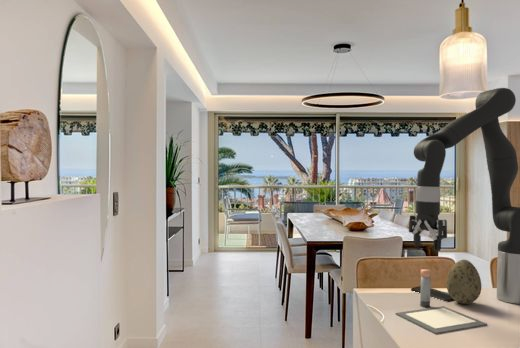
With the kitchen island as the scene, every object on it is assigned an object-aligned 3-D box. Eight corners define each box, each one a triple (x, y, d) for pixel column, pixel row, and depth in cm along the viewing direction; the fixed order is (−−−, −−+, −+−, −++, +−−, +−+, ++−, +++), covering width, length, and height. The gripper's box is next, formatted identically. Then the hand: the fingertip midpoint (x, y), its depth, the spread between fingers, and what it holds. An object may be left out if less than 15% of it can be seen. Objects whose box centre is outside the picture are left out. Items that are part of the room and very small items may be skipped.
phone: (422, 285, 154) (459, 296, 141) (422, 288, 154) (459, 299, 141) (409, 288, 150) (445, 299, 137) (409, 291, 150) (445, 303, 137)
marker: (425, 304, 134) (426, 268, 134) (432, 307, 131) (433, 271, 131) (417, 305, 133) (418, 269, 133) (425, 308, 130) (425, 271, 130)
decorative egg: (488, 307, 132) (489, 262, 132) (460, 309, 130) (461, 263, 130) (465, 297, 142) (466, 256, 142) (439, 299, 140) (440, 256, 140)
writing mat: (443, 307, 131) (443, 305, 131) (487, 325, 117) (487, 323, 117) (395, 314, 124) (395, 312, 124) (435, 334, 109) (435, 332, 109)
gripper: (453, 201, 127) (452, 252, 127) (420, 198, 140) (419, 244, 140) (436, 201, 124) (434, 253, 124) (403, 198, 137) (402, 245, 137)
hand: (426, 248), depth 132 cm, fingers open, 8 cm apart
